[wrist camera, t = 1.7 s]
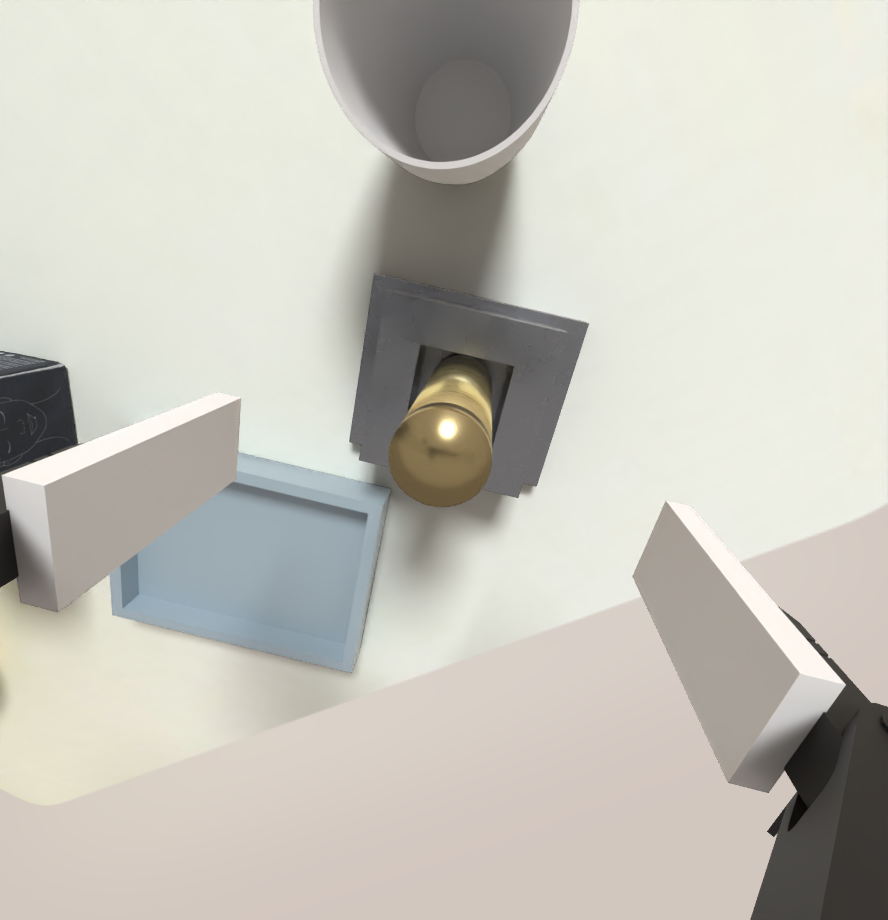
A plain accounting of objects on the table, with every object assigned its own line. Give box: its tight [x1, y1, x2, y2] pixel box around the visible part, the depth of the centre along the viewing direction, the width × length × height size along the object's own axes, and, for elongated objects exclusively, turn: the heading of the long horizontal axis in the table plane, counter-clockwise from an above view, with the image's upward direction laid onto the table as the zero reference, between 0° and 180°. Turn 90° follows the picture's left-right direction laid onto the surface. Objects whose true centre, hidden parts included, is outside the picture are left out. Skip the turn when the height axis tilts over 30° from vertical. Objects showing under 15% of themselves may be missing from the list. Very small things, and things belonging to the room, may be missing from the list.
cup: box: [313, 0, 579, 184], centre depth 19 cm, size 8×8×10 cm
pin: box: [388, 356, 492, 507], centre depth 22 cm, size 4×4×12 cm
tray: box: [110, 453, 391, 673], centre depth 33 cm, size 18×14×2 cm
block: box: [349, 273, 589, 498], centre depth 26 cm, size 12×10×4 cm
